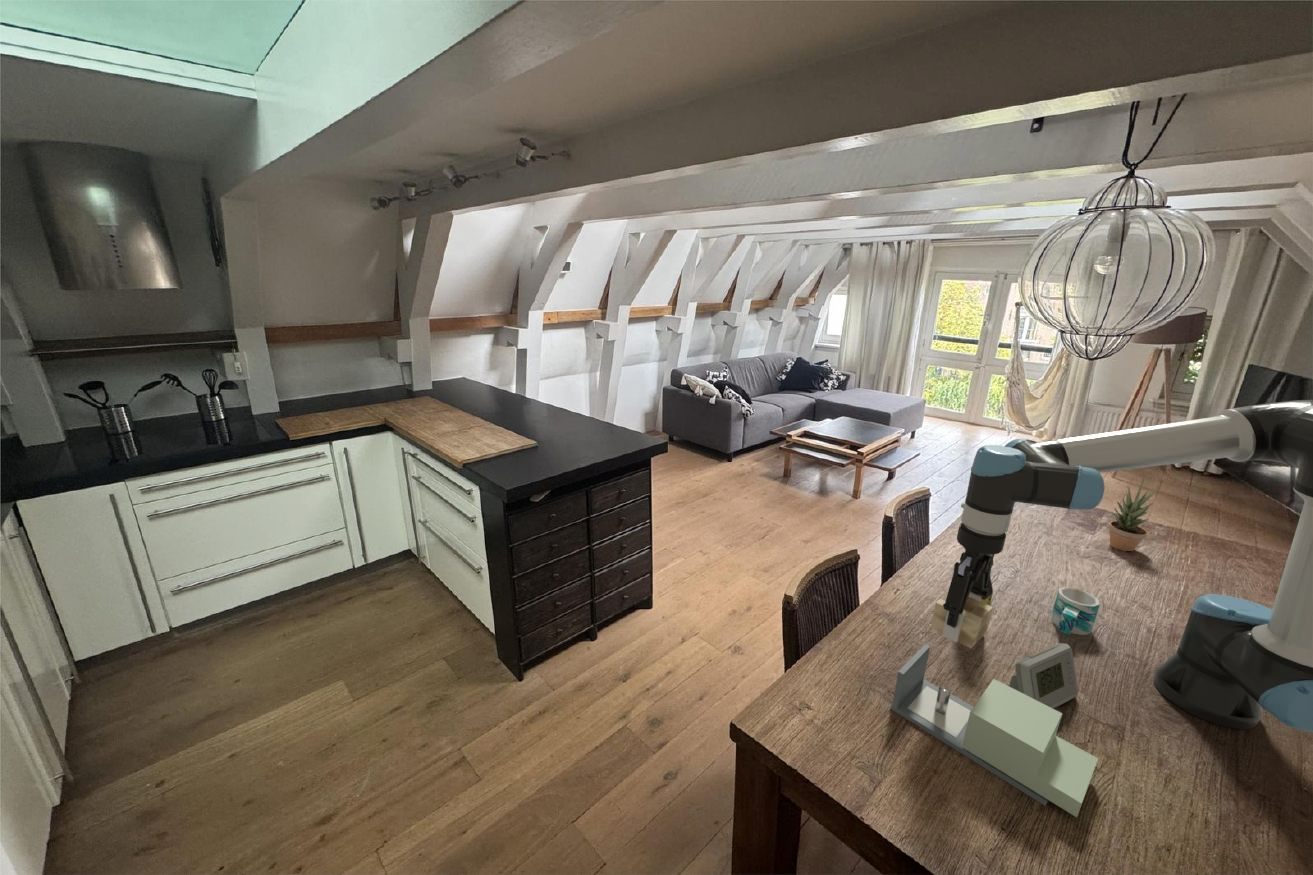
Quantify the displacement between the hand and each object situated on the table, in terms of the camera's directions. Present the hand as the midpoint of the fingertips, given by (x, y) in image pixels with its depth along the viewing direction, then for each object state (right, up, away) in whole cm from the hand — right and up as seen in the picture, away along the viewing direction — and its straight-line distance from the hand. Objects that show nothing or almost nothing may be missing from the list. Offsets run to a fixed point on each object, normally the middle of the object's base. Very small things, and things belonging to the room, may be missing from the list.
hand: (958, 629), depth 102 cm
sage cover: (+5, -19, -12) cm, 23 cm away
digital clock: (+19, -16, +3) cm, 25 cm away
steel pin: (-4, -17, -1) cm, 17 cm away
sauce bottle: (+17, -9, +25) cm, 32 cm away
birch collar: (0, 0, 0) cm, 0 cm away
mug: (+43, -9, +26) cm, 51 cm away
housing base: (0, -18, -5) cm, 19 cm away
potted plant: (+93, +2, +65) cm, 114 cm away
